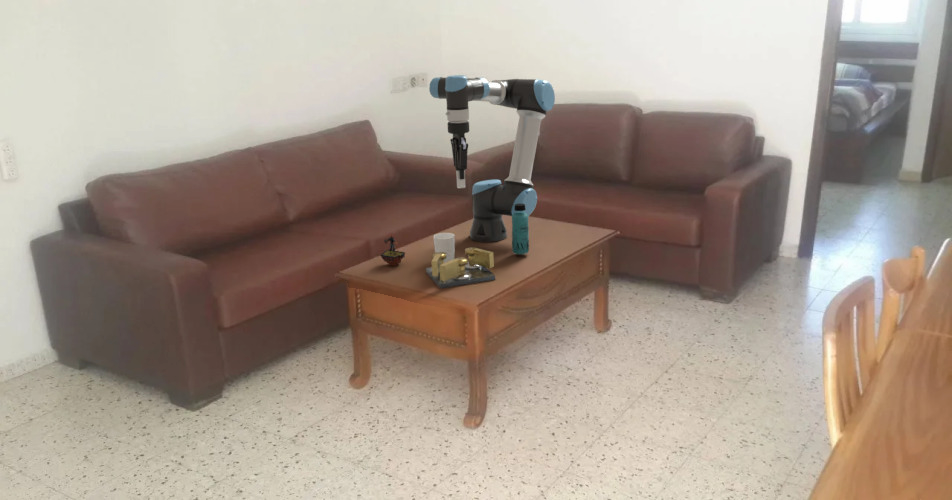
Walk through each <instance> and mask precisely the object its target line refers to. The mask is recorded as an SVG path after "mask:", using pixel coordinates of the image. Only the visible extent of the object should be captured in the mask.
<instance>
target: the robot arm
mask: <svg viewBox="0 0 952 500" xmlns="http://www.w3.org/2000/svg"><path fill="white" fill-rule="evenodd" d="M553 87H554V86H553V85H552V84H551V83H550V82H549V81H548V80H546V79H545V80H544V79H539V78H537V79H534V78H532V79H530V78H529V79H527V78H525V79H523V78H510V79H509V78H508V79H501V80H500V79H494V80H491V81H489V80H487V79H486V78H484V77H477V76H476V77H473V78H469V77H468V76H466V74H465V75H464V74H457V75H456V74H455V75H448V76H446V77H442V76H440V77H433V78H432V79H431V81H430V82H429V93H430V95H431V97H433V98H434V99H440V100H446V112H445V116H446V117H447V118H446V119H447V121H448V122H447V123H446V124H447V132H448V134H450V135H452V138H450V140H449V141H450V144H451V150H452V151H451V152H452V160H453V166H454V167H455V172H456V173H455V174H456V176H455V177H456V188H457V189H465V188H466V170H467V169H468V150H469V143H468V142H467V138H466V135H465V134H467V133H469V132H470V122H469V120H470V110H469V102H472V101H475V102H487V103H489V104H491V105H493V106H494V105H495V106H501V107H505V108H508V109H509V108H510V109H516V113H517V115H518V117H519V119H518V122H517V129H516V134H515V140H514V141H515V142H514V145H513V152H512V158H511V163H510V167H509V174H508V175H509V176H508V177H507V178H505V179H504V180H503V185H502V181H501V180H500V179H486V180H481V181H478V182H475V183H474V184H473V185H472V193H471V196H472V197H471V198H472V214H473V219H472V223H471V226H470V227H471V228H470V231H469V238H470V239H471V240H473V241H474V242H475V241H476V242H480V243H481V242H482V243H490V242H491V243H493V242H498V241H501V240H504V239H506V238H507V237H508V231H507V227H506V224H505V222H504V220H503V216H509V217H512V215H513V214H514V213H516V212H525V213H526V214H528V217H529V216H530V215H531V214H532V213H533V212H534V211H535V208H536V206H537V202H538V194H537V191H536V190H535V189H534V184H533V182H532V180H531V179H532V173H533V168H534V161H535V158H536V157H535V156H536V151H537V146H538V145H537V144H538V139H539V133H540V127H541V123H542V120H544V119H545V118H546V116H547V112H550V111H551V110H552V109H553V107H554V105H555V100H556V97H555V96H556V95H555V94H556V93H555V91H554V88H553ZM519 203H522V204H525V208H526V210H524V211H515V204H519Z"/></svg>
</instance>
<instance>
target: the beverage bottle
mask: <svg viewBox="0 0 952 500" xmlns="http://www.w3.org/2000/svg"><path fill="white" fill-rule="evenodd" d="M524 210H526V208H525V204H522V203H519V204H515V211H524ZM511 223H512V224H511V248H512V249H511V251H512V253H513V254H515V255H525V254H528V253H529V251H530V240H529V237H530V236H529V235H530V233H529V228H530V227H529V216H528V214H526V213H525V212H516V213H514V214H513V215H512V216H511Z"/></svg>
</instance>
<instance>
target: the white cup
mask: <svg viewBox="0 0 952 500" xmlns="http://www.w3.org/2000/svg"><path fill="white" fill-rule="evenodd" d="M455 236H456V235H455V234H454V233H453V232H439V233H436V234H434V235H433V243H434V246H433V247H434V253H436V252H444V253H446V259H444V260H443V261H444V263H446V262H448V261H451V260H453V259H455V252H456V251H455V250H456V249H455V248H456V245H455V244H456V240H455V238H456V237H455Z"/></svg>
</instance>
